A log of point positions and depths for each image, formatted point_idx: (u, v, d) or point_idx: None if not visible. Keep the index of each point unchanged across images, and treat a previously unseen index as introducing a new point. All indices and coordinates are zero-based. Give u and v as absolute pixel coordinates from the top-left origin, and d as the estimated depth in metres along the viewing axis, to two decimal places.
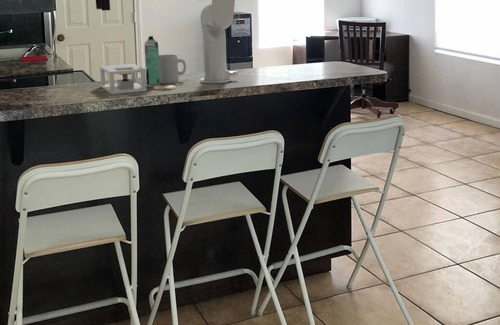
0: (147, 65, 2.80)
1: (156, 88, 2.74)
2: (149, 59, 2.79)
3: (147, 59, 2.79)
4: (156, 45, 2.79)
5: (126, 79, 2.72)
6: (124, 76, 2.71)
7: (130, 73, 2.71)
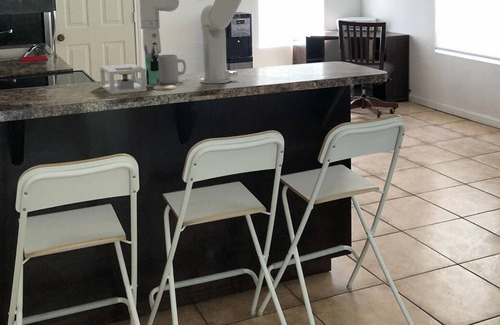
0: (147, 65, 2.80)
1: (156, 88, 2.74)
2: (149, 59, 2.79)
3: (147, 59, 2.79)
4: None
5: (126, 79, 2.72)
6: (124, 76, 2.71)
7: (130, 73, 2.71)
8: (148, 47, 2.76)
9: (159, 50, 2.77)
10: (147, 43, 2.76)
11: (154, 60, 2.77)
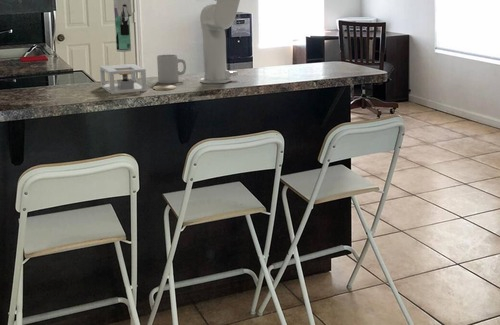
0: (117, 29, 2.66)
1: (156, 88, 2.74)
2: (119, 22, 2.64)
3: (117, 22, 2.65)
4: None
5: (126, 79, 2.72)
6: (124, 76, 2.71)
7: (130, 73, 2.71)
8: (118, 9, 2.62)
9: (130, 12, 2.62)
10: (117, 5, 2.62)
11: (124, 23, 2.63)
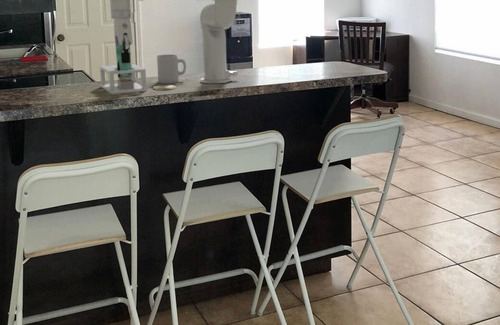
0: (118, 57, 2.68)
1: (156, 88, 2.74)
2: (120, 50, 2.67)
3: (118, 50, 2.67)
4: None
5: None
6: None
7: (130, 79, 2.72)
8: (119, 38, 2.64)
9: (131, 41, 2.65)
10: (118, 34, 2.64)
11: (125, 51, 2.65)
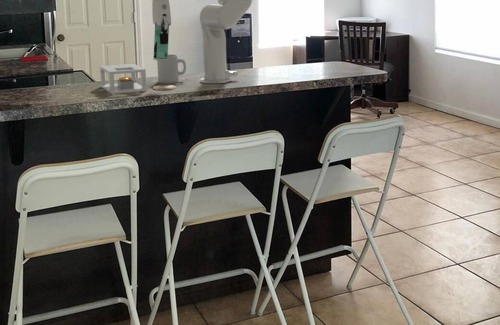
0: (156, 37, 2.70)
1: (156, 88, 2.74)
2: (159, 31, 2.68)
3: (157, 31, 2.69)
4: None
5: None
6: None
7: (130, 79, 2.72)
8: (158, 19, 2.66)
9: (169, 22, 2.66)
10: (157, 14, 2.66)
11: (164, 32, 2.67)
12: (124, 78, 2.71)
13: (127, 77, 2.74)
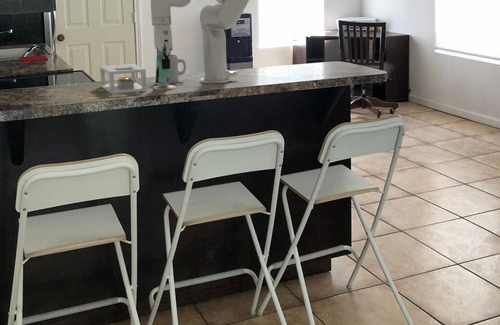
0: (158, 63, 2.72)
1: (156, 88, 2.74)
2: (161, 56, 2.71)
3: (159, 56, 2.72)
4: None
5: None
6: None
7: (130, 79, 2.72)
8: (159, 44, 2.68)
9: (171, 47, 2.69)
10: (158, 40, 2.69)
11: (165, 58, 2.70)
12: (124, 78, 2.71)
13: (127, 77, 2.74)
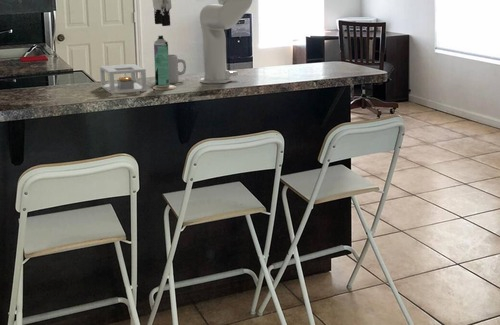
0: (157, 65, 2.73)
1: (156, 88, 2.74)
2: (159, 58, 2.72)
3: (157, 59, 2.72)
4: (166, 45, 2.72)
5: None
6: None
7: (130, 79, 2.72)
8: (158, 3, 2.64)
9: (170, 5, 2.65)
10: None
11: (165, 13, 2.64)
12: (124, 78, 2.71)
13: (127, 77, 2.74)
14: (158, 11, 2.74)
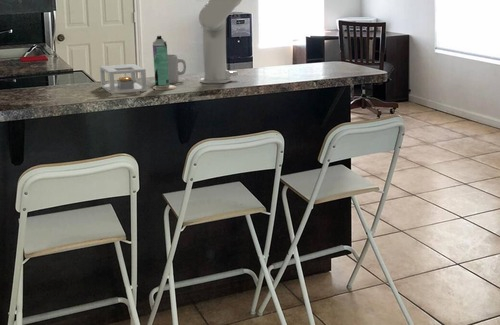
0: (156, 66, 2.73)
1: (156, 88, 2.74)
2: (158, 59, 2.71)
3: (156, 59, 2.72)
4: (165, 45, 2.72)
5: None
6: None
7: (130, 79, 2.72)
8: None
9: None
10: None
11: None
12: (124, 78, 2.71)
13: (127, 77, 2.74)
14: None
